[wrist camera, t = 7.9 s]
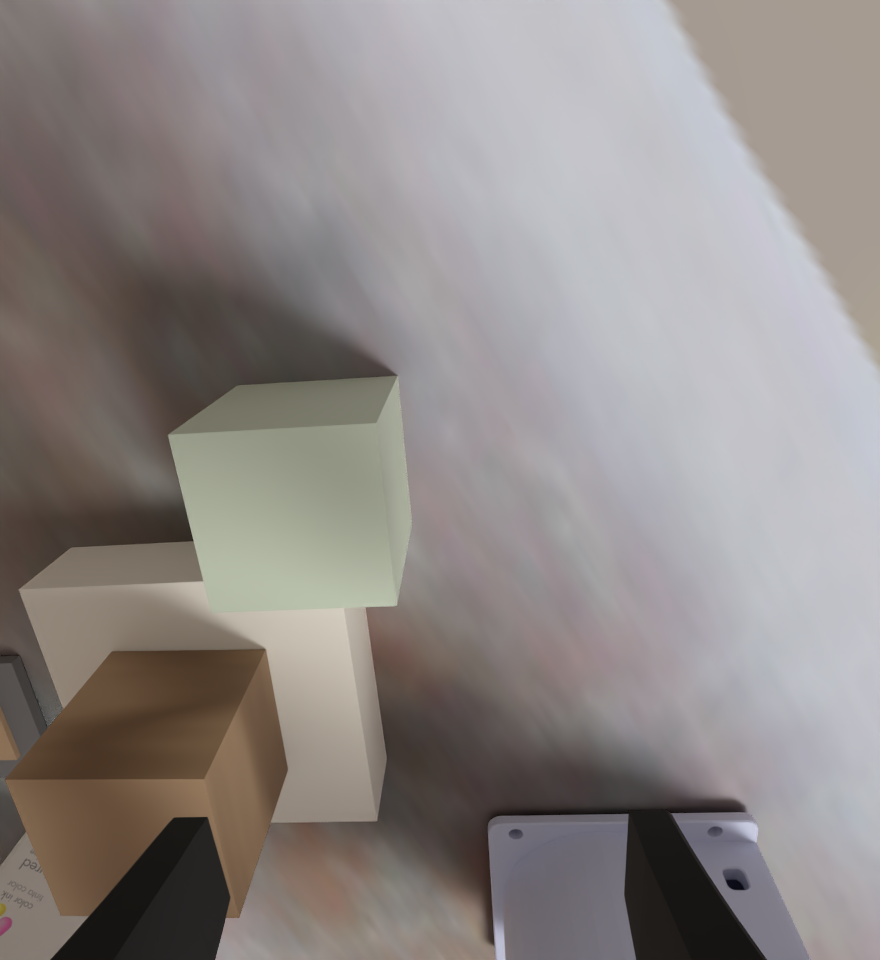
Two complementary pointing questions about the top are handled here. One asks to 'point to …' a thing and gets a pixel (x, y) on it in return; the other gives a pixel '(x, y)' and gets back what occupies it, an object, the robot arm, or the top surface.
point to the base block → (191, 626)
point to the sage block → (298, 494)
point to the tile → (17, 714)
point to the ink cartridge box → (30, 909)
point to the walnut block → (153, 769)
